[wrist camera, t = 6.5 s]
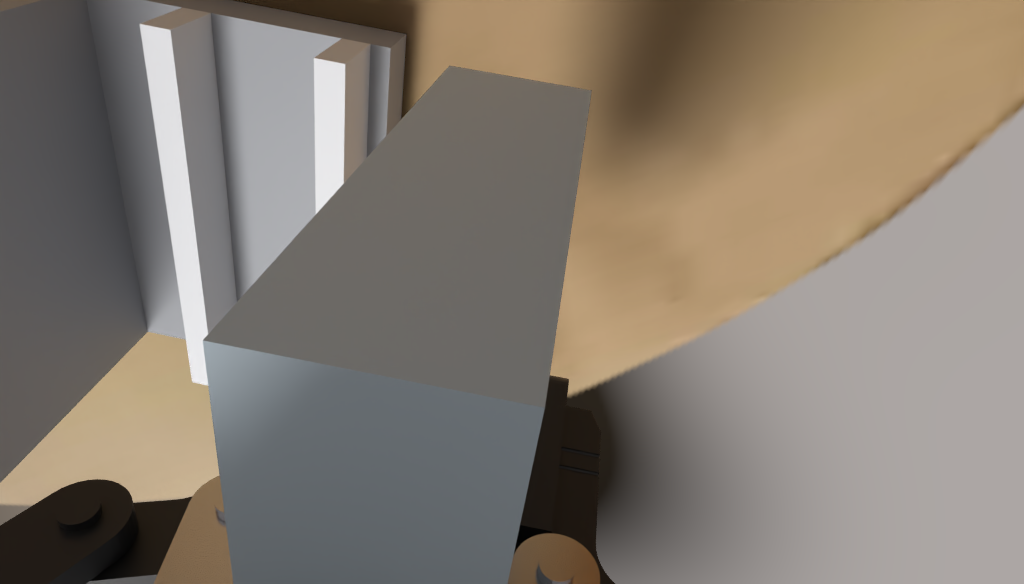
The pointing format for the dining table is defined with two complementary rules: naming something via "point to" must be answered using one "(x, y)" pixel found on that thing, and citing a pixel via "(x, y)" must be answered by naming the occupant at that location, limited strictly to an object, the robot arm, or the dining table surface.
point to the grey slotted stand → (161, 174)
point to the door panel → (404, 349)
